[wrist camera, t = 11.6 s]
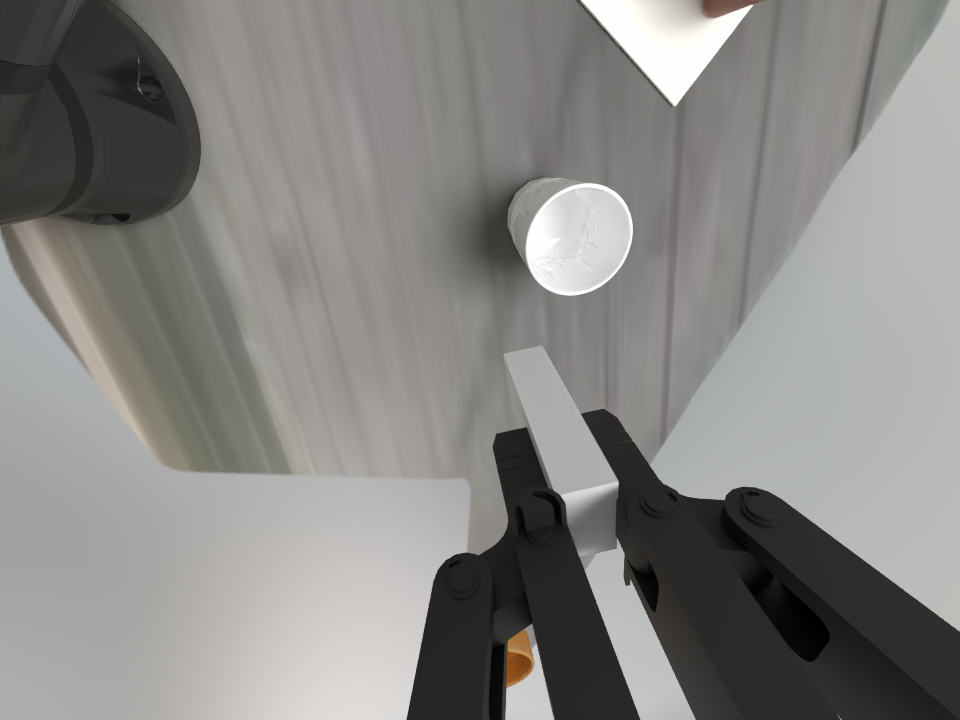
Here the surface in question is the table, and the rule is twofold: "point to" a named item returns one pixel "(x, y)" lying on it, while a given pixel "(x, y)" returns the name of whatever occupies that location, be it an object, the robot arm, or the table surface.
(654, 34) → the card
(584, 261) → the white cup
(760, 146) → the table surface
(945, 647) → the robot arm
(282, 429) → the table surface
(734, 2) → the swing panel
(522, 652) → the flower pot
